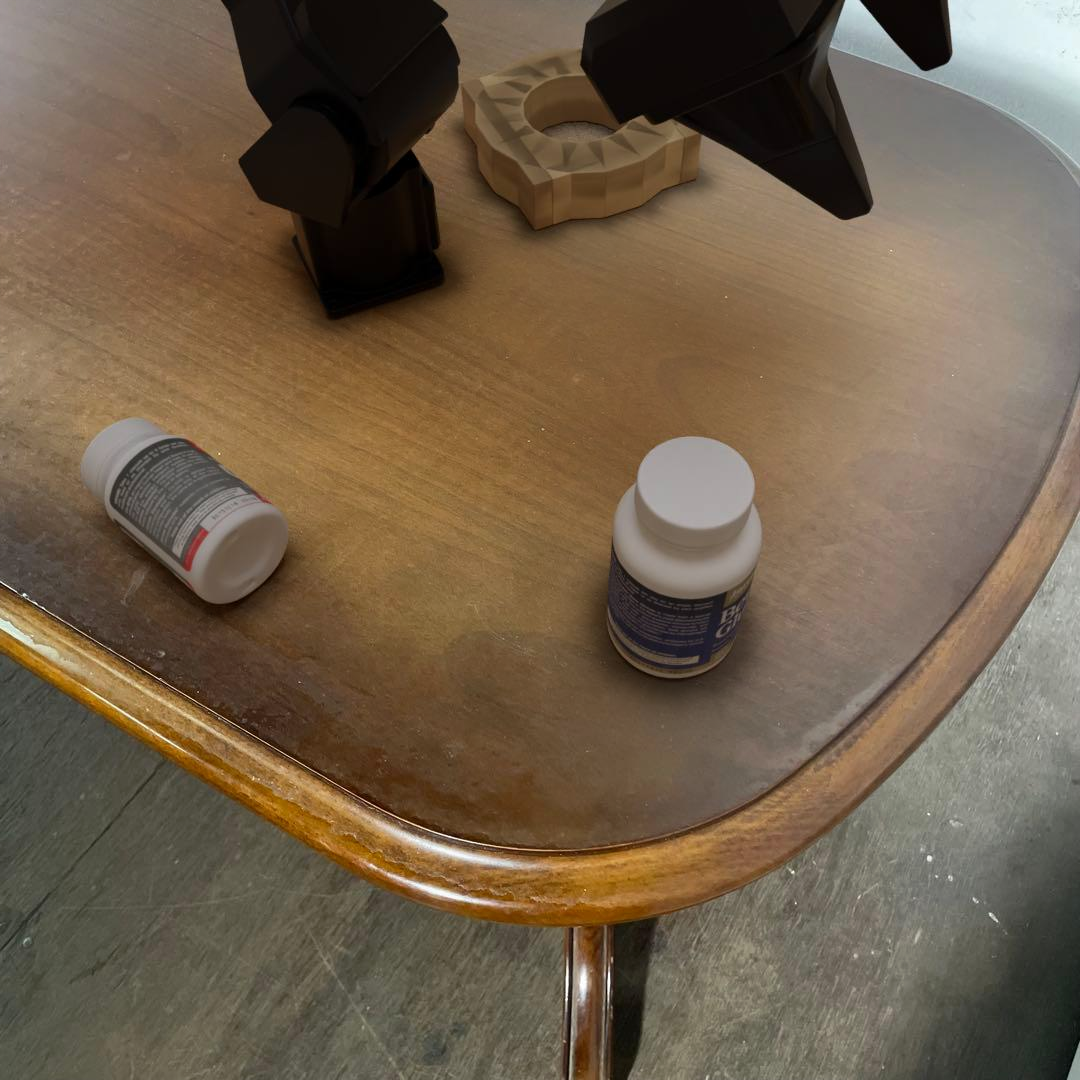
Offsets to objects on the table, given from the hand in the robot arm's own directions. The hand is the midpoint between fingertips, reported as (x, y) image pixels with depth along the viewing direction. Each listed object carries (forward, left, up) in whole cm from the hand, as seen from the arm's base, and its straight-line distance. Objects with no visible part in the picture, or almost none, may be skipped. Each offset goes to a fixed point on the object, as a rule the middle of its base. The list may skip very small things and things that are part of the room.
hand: (901, 135), depth 36 cm
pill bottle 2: (-11, -6, -16) cm, 20 cm away
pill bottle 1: (-26, +2, -13) cm, 29 cm away
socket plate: (-1, +23, -16) cm, 28 cm away
